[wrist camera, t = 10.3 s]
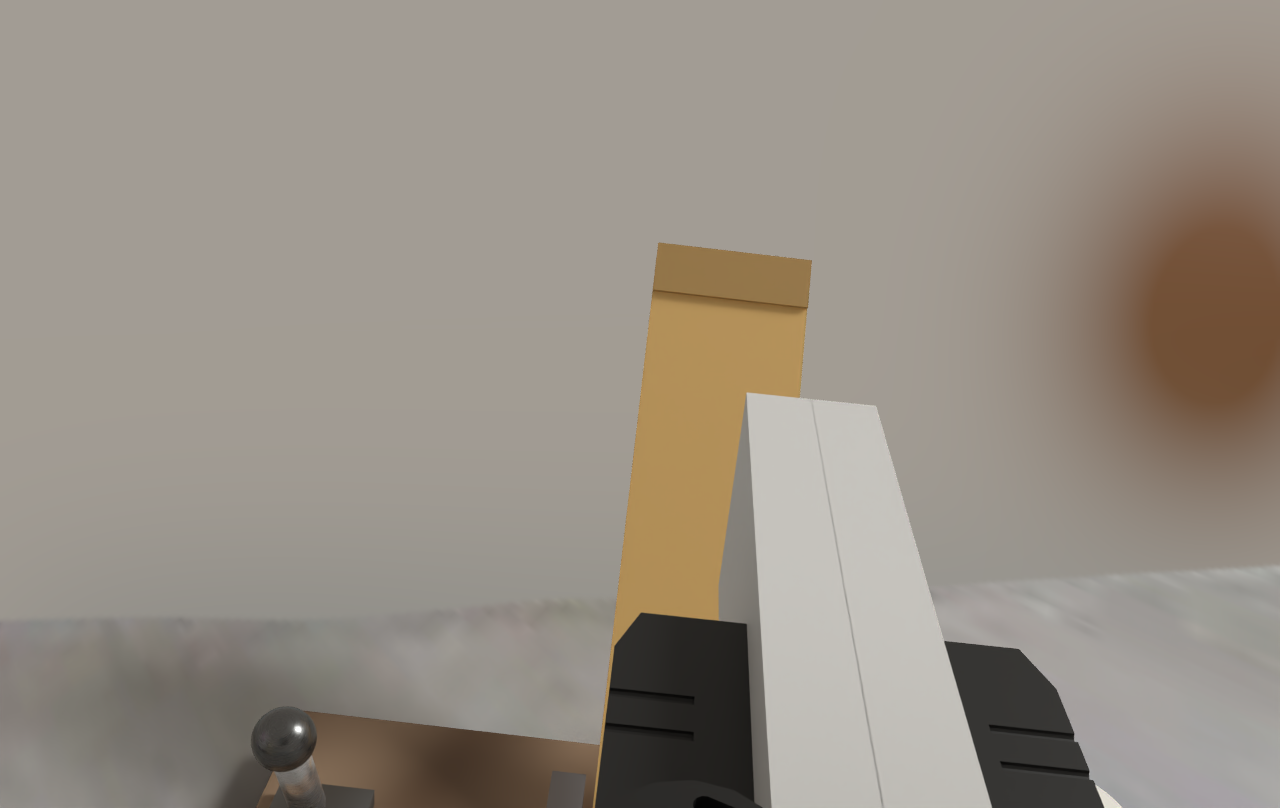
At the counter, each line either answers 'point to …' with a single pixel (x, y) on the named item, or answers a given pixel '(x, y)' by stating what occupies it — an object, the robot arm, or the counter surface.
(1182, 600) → the counter surface
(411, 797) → the console
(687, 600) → the tan tall block
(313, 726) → the toggle lever
